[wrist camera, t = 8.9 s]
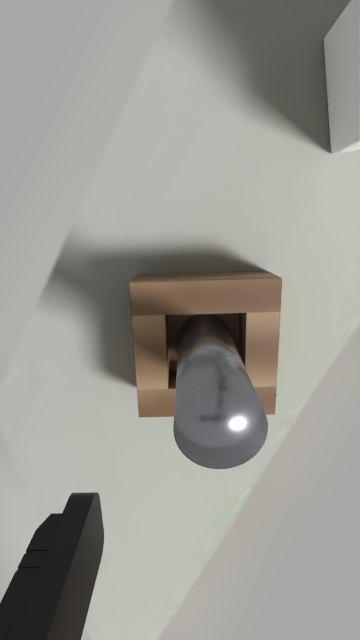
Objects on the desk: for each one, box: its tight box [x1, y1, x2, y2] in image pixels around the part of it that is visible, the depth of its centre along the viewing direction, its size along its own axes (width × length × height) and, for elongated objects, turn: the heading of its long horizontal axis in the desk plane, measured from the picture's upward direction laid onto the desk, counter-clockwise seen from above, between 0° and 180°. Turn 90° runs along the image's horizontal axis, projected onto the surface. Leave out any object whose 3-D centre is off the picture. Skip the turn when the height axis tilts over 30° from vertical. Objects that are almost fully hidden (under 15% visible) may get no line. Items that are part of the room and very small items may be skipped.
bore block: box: [129, 271, 282, 417], centre depth 24 cm, size 10×10×4 cm
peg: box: [174, 314, 268, 469], centre depth 19 cm, size 4×4×12 cm
